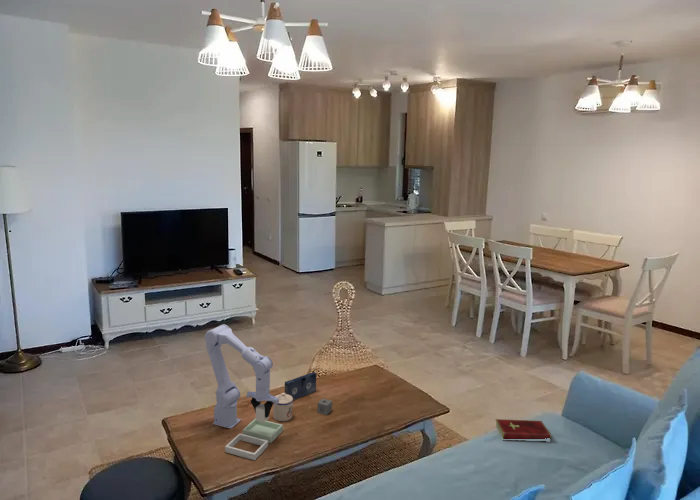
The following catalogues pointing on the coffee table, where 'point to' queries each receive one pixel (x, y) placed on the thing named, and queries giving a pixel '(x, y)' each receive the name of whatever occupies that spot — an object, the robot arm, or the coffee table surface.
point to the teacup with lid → (283, 407)
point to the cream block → (260, 413)
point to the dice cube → (324, 406)
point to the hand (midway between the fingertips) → (262, 415)
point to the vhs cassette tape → (301, 386)
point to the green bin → (263, 430)
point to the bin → (243, 453)
